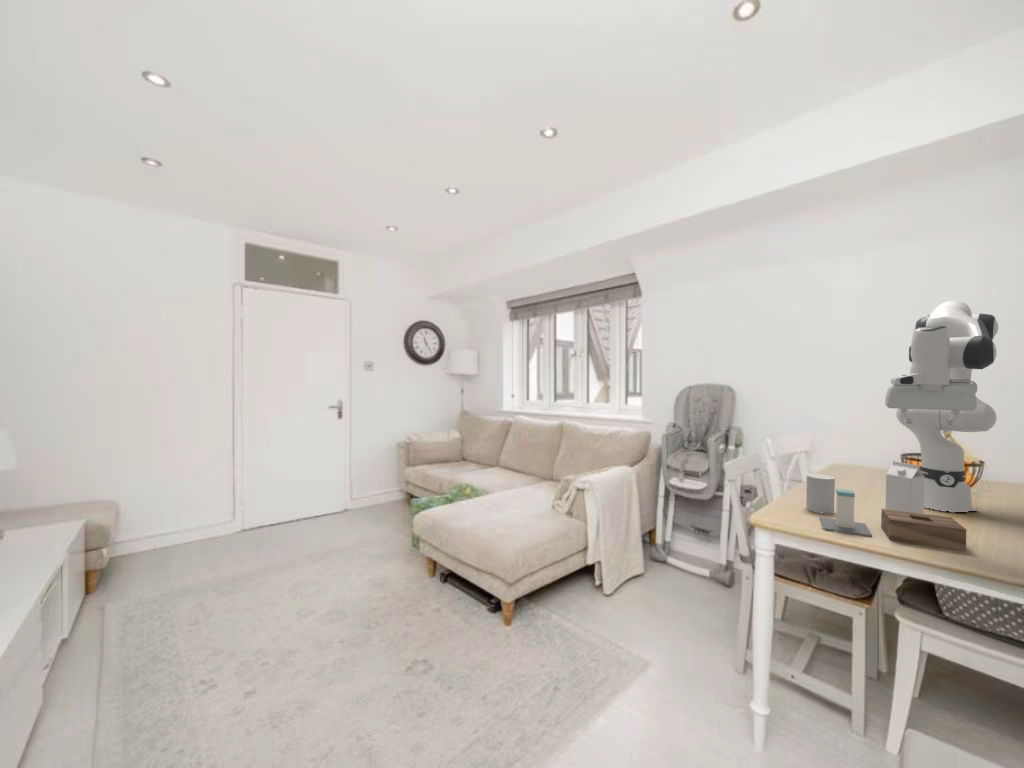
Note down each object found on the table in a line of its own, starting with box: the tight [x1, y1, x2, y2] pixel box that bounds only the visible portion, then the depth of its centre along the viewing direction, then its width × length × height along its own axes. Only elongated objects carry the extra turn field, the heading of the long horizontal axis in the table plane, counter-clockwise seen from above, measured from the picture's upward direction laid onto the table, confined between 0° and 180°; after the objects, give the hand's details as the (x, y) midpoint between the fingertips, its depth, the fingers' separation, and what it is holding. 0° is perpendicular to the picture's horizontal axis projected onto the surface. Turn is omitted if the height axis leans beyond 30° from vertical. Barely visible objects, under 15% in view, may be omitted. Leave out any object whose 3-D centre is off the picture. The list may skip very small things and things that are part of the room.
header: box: [880, 508, 967, 552], centre depth 129 cm, size 12×16×6 cm
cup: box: [805, 473, 836, 514], centre depth 156 cm, size 8×8×12 cm
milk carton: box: [885, 460, 925, 514], centre depth 145 cm, size 7×7×19 cm
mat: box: [819, 516, 873, 538], centre depth 138 cm, size 12×12×1 cm
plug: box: [835, 488, 856, 529], centre depth 138 cm, size 4×4×11 cm
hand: (928, 424), depth 134 cm, fingers open, 8 cm apart
